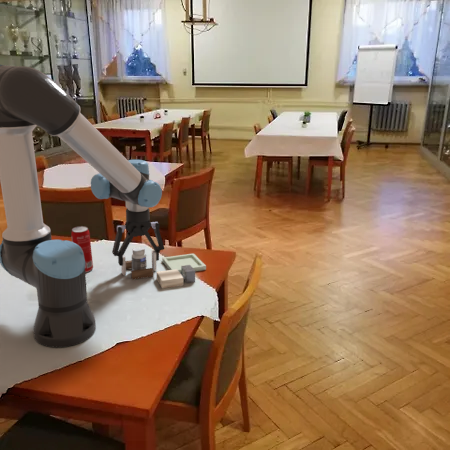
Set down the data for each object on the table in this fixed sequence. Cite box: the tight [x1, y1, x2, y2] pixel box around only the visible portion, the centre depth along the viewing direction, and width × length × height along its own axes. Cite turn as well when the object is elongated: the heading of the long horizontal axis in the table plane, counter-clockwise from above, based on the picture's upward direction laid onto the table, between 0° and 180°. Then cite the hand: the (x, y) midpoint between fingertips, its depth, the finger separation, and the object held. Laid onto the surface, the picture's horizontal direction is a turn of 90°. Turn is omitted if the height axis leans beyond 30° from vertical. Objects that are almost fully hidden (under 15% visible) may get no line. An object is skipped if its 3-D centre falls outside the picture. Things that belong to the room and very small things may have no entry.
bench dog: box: [181, 265, 196, 284], centre depth 149 cm, size 5×3×4 cm, turn 25°
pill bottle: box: [131, 246, 147, 271], centre depth 152 cm, size 5×5×8 cm
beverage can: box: [70, 225, 94, 273], centre depth 151 cm, size 6×6×15 cm
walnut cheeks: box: [125, 259, 154, 281], centre depth 153 cm, size 10×7×2 cm
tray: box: [161, 253, 207, 274], centre depth 160 cm, size 12×12×2 cm
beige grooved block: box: [156, 269, 184, 289], centre depth 147 cm, size 7×7×3 cm
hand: (139, 271), depth 153 cm, fingers open, 10 cm apart
